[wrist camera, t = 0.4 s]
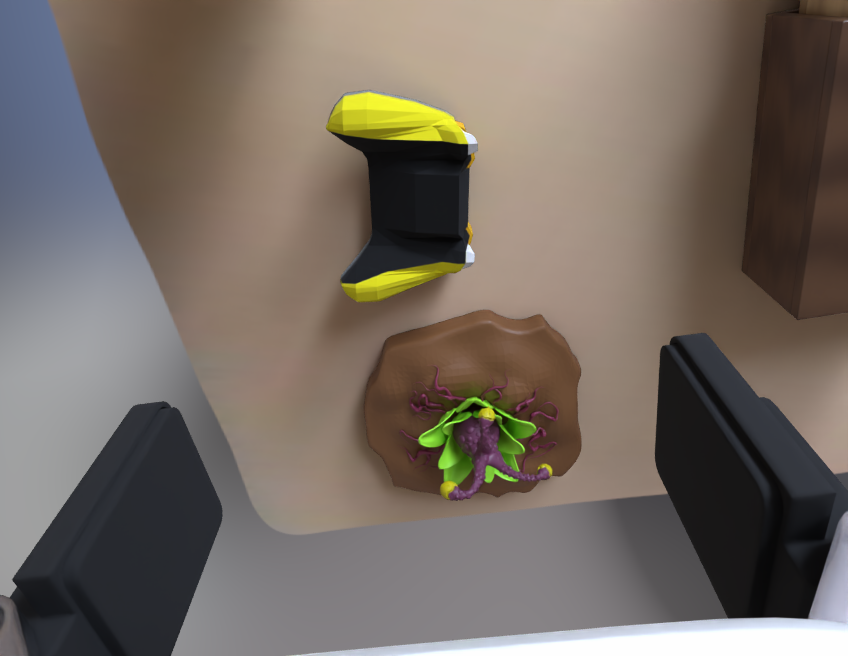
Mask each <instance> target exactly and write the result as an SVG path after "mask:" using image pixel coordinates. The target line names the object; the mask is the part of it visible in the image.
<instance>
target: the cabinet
mask: <svg viewBox="0 0 848 656" xmlns="http://www.w3.org/2000/svg"><path fill="white" fill-rule="evenodd" d="M742 271H743V272H744V273H745V274H746V275H747V276H748V277H750V278H751V279H752V280H753V281H754V282H755V283H756V284H757V285H758V286H760V287H761V288H762V289H763V290H764V291H765V292H766V293H767V294H768V295H770V296H771V297H772V298H773V299H774V300H775V301H776V302H777V303H778V304H780V305H781V306H782V307H783V308H784V309H785V310H786V311H787V312H789V313H790V314H791V315H792V316H793V317H794V318H795V319H797V320H800V319H807V318H814V317H821V316H827V315H834V314H841V313H848V17H838V16H824V15H811V14H799V8H798V9H793V10H788V11H783V12H777V13H772V14H767V15H766V23H765V33H764V44H763V54H762V65H761V75H760V86H759V96H758V107H757V117H756V128H755V138H754V149H753V159H752V170H751V180H750V191H749V202H748V212H747V223H746V233H745V244H744V254H743V265H742Z"/></svg>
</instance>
